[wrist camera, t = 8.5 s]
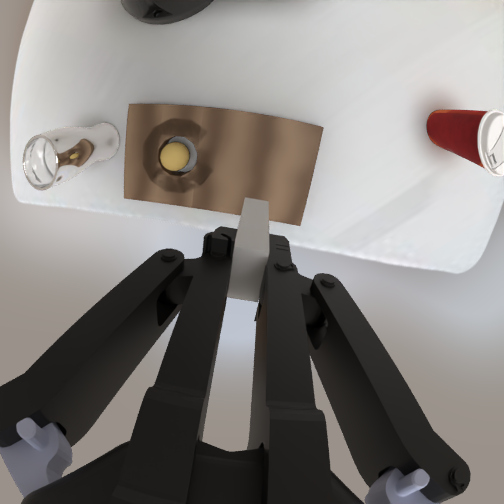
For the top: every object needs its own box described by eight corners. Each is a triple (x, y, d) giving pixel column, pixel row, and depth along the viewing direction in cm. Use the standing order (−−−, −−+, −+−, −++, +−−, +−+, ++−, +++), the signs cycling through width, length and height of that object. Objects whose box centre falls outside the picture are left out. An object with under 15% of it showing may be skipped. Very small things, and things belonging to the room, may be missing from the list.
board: (131, 193, 39) (124, 198, 37) (136, 103, 32) (128, 103, 30) (298, 219, 40) (300, 225, 38) (319, 126, 33) (323, 127, 31)
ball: (157, 151, 35) (151, 157, 32) (179, 134, 35) (175, 138, 31) (174, 172, 37) (170, 180, 34) (195, 155, 37) (194, 161, 33)
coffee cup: (437, 163, 34) (498, 193, 21) (411, 120, 31) (475, 133, 18) (466, 135, 31) (529, 156, 17) (442, 93, 28) (508, 98, 15)
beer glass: (113, 112, 33) (47, 121, 20) (128, 152, 36) (67, 177, 23) (81, 132, 34) (15, 151, 21) (95, 169, 37) (34, 200, 24)
